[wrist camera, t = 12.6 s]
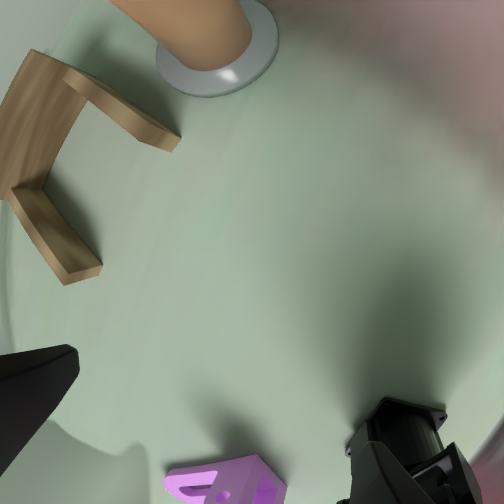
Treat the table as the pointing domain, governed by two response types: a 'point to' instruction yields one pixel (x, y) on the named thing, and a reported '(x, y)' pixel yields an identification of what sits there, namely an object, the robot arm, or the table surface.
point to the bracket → (227, 483)
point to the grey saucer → (236, 72)
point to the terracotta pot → (194, 29)
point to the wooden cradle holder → (47, 147)
